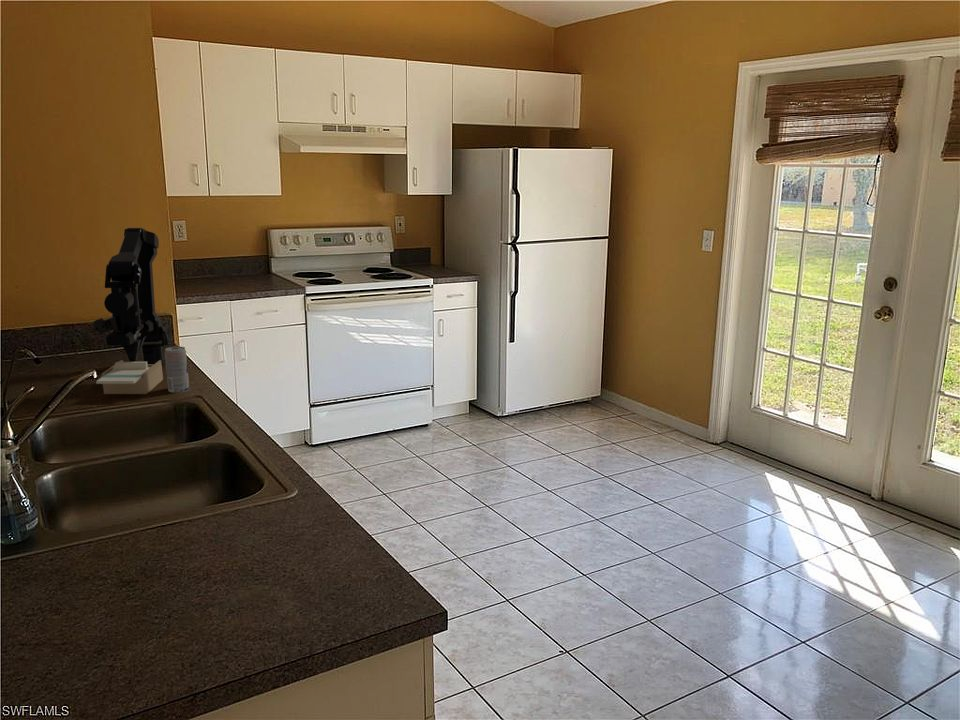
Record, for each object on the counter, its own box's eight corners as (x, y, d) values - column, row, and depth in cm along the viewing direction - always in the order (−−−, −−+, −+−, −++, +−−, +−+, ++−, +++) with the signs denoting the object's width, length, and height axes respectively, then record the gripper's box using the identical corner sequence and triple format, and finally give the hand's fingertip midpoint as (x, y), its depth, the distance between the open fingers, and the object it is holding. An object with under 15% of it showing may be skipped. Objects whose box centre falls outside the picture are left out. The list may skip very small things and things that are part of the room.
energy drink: (188, 387, 213) (184, 345, 209) (190, 393, 208) (187, 350, 205) (167, 390, 210) (163, 347, 207) (169, 395, 206) (165, 352, 202)
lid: (116, 369, 210) (115, 360, 210) (151, 369, 211) (150, 360, 210) (96, 383, 198) (95, 374, 197) (134, 383, 199) (133, 374, 198)
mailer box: (123, 381, 217) (120, 360, 215) (163, 381, 218) (161, 360, 216) (104, 396, 205) (101, 373, 203) (146, 395, 205) (144, 373, 204)
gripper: (110, 300, 214) (116, 354, 219) (80, 314, 197) (88, 373, 201) (151, 300, 215) (156, 354, 219) (125, 314, 197) (132, 372, 201)
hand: (133, 363), depth 210 cm, fingers closed
